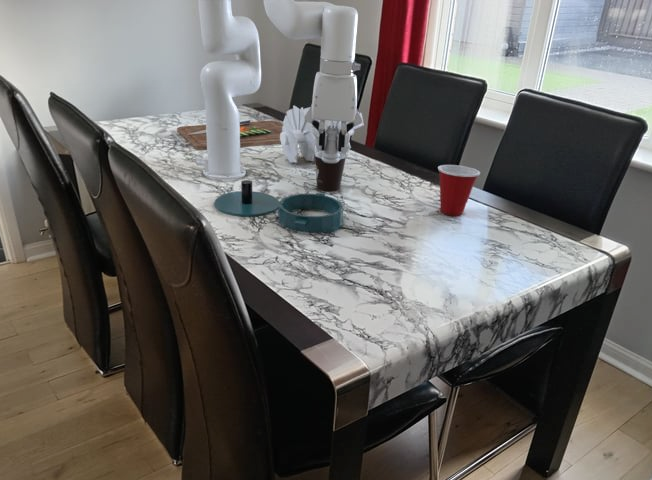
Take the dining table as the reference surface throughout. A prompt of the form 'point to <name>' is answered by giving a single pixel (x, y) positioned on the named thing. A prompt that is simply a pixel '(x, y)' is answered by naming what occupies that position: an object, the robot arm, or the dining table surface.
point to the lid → (246, 202)
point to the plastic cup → (455, 187)
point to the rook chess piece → (331, 146)
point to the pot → (310, 222)
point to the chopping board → (248, 134)
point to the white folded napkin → (307, 135)
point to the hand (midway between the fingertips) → (331, 148)
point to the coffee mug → (329, 173)
